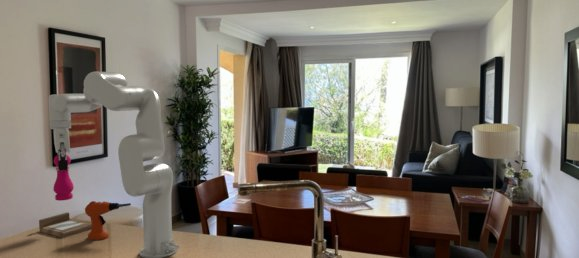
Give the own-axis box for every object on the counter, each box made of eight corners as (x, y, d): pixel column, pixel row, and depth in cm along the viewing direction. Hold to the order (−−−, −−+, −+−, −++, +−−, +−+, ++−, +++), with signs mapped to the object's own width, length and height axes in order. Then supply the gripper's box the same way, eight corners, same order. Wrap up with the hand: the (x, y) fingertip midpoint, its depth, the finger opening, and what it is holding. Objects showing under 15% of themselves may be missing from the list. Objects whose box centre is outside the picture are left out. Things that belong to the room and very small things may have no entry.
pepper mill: (49, 200, 162) (47, 151, 160) (62, 196, 169) (60, 149, 167) (65, 201, 160) (63, 151, 159) (78, 196, 168) (75, 149, 166)
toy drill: (132, 236, 153) (126, 198, 152) (85, 242, 155) (79, 204, 153) (138, 232, 158) (132, 195, 157) (92, 237, 159) (86, 200, 158)
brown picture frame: (91, 228, 167) (91, 217, 167) (64, 237, 157) (63, 225, 156) (67, 223, 175) (66, 212, 174) (39, 231, 164) (38, 220, 164)
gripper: (72, 125, 157) (74, 171, 158) (69, 123, 171) (71, 165, 173) (50, 126, 153) (53, 173, 154) (49, 124, 167) (51, 166, 169)
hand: (62, 168), depth 164 cm, fingers closed on pepper mill, 5 cm apart
